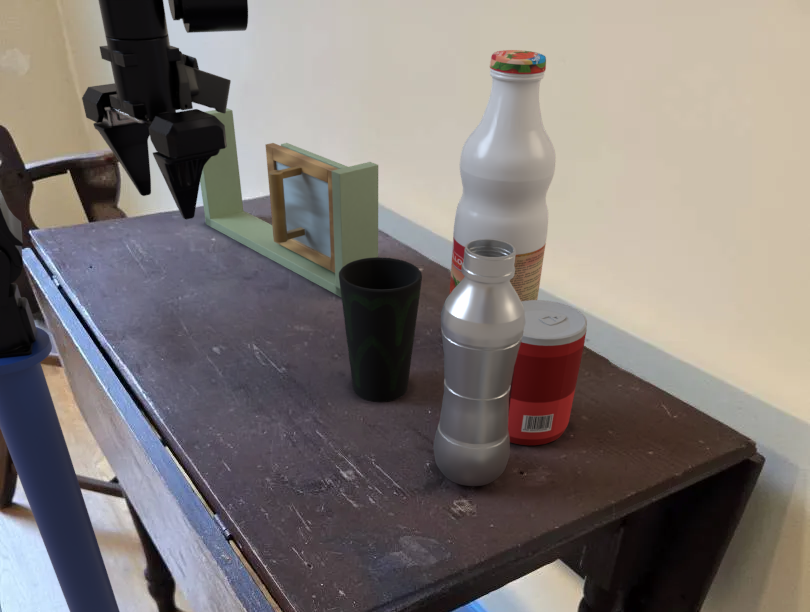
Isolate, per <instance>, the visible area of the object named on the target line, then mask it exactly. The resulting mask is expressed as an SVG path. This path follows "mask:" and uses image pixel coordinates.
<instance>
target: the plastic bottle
mask: <svg viewBox="0 0 810 612" xmlns="http://www.w3.org/2000/svg"><path fill="white" fill-rule="evenodd" d="M515 251H516V249H515V247H514V246H513V245H511V244H509V243H507V242H504V241H501V240H495V239H477V240H473V241H470V242H468V243H467V244H466V246H465V251H464V262H463V263H462V269H461V271H462V274H463V275H464V276H465V277H464V279H463V280H462V281H461V282H460V283H459V284H458V285H457V286H456V287H455V288H454V289H453V291H452V292H451V293H450V292H449V294H450V295H449V294H448V296H447V297H446V299H445V301H444V302H443V306H442V309H441V312H440V329H441V339H442V349H443V376H444V377H443V378H444V379H443V396H442V404H441V409H440V415H439V421H438V424H437V427H436V431H435V434H434V440H433V444H432V445H433V446H432V447H433V454H434V461H435V465H436V466H437V468H438V469H439V471H440V472H441V474H443V476H444V477H445V478H446V479H448V480H449V481H451V482H453V483H456V484H458V485H460V486H461V485H462V486H468V487H481V486H487V485H489V484H492V483H493V482H494V481H495V482H496V480H497V479H499V478H500V477H501V475H502V474H504V472H505V470H506V468H507V464H508V461H509V460H510V456H511V442H510V438H509V431H508V408H509V392H510V387H511V385H510V384H511V381H512V376H513V370H514V365H515V361H516V358H517V354H518V351H519V347H520V344H521V340H522V336H523V333H524V327H525V323H526V319H525V313H524V308H523V305H522V303H521V301H520V299H519V296H518V294H517V293H516V291H515V289H514V288H513V286H512V285H511V283H510V279H512V278H513V277H514V273H515V267H514V263H515V255H516V252H515Z"/></svg>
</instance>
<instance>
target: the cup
mask: <svg viewBox="0 0 810 612" xmlns="http://www.w3.org/2000/svg"><path fill="white" fill-rule="evenodd" d="M422 279H423V273H422V271H421V270H420V269H419V267H417V266H416V265H414V264H413V263H411V262H408V261H406V260H402V259H399V258H393V257H383V256H382V257H381V256H380V257H379V256H378V257H376V258H365V259H360V260H356V261H353V262H350V263H348V264H346V265H345V266H344V267H342V269H341V270H340V272H339V281H340V289H341V297H342V298H341V297H340V298H341V304H342V311H343V320H344V327H345V328H344V329H345V335H346V344H347V352H348V361H349V366H350V368H349V369H350V377H351V383H352V390H353V392H354V394H355V395H356V396H357V397H358V398H360V399H363V400H365V401H369V402H373V403H388V402H392V401H396V400H399V399H400V398H402V397H404V395H406V393H407V392H408V386H409V379H410V372H411V371H410V370H411V364H412V357H413V356H412V355H413V349H414V342H415V334H416V326H417V319H418V310H419V304H420V298H421V297H420V296H421V288H422Z"/></svg>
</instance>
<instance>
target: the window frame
mask: <svg viewBox="0 0 810 612" xmlns="http://www.w3.org/2000/svg"><path fill="white" fill-rule="evenodd" d="M205 112H206V113H208V114H211V115H213V116H215V117H216V118H218V119H219V120H220V121H221V122H222V123H223V124H224V125H225V132H226V141H227V147H226V148H224V149H220V151H219V153H218V155H216V156H212V157H211V158H210V159H209V160H208V161H207V163H206V164H205V165H204V167H203V171H202V175H201V179H200V185H199V186H200V191H201V198H202V205H203V206H202V207H203V214H204V220H205V225H207V226H208V227H210V228H211V229H214V230H216V231H217V232H219V233H221V234H224V235H225V236H227V237H228V238H230V239H233V240H234V241H236V242H237V243H240V244H242V245H243V246H245V247H247V248H249V249H251V250H253V251H255V252H257V253H258V254H260V255H261V256H263V257H266V258H267V259H269V260H271V261H272V262H273V261H274V262H275V263H277V264H278V265H280V266H282V267H284V268H286V269H288V270H290V271H292V272H294V273H295V274H297V275H299V276H301V277H303V278H304V279H306V280H308V281H310V282H312V283H314V284H315V285H318V286H319V287H321V288H323V289H325V290H326V291H329V292H331V293H332V294H334V295H336V296H338V297H339V298H341V299H342V297H341V289H340V281H339V272H340V270H341V269H342V267H344V266H345V265H346V264H348V263H350V262H353V261H356V260H360V259H365V258H376V257H379V164H378V163H375V162H372V161H367V162H363V163H359V164H355V165H351V166H349V165H348V166H347V165H345V164H342V163H340V162H337V161H335V160H332V159H330V158H327V157H324V156H322V155H319V154H316V153H314V152H311V151H309V150H306V149H304V148H301V147H299V146H296V145H293V144H291V143H288V142H284V143H281V144H280V146H282V147H285V148H287V149H290V150H292V151H295V152H297V153H300V154H303V155H305V156H308V157H310V158H313V159H315V160H318V161H320V162H323V163H325V164H328V165H330V166H333V167H335V168H338V169H337V170H333V171H332V197H333V225H334V253H335V273H334V272H332V271H330V270H328V269H326V268H324V267H322V266H321V265H319V264H317V263H315V262H313V261H311V260H309V259H307V258H305V257H303V256H301V255H299V254H297V253H295V252H293V251H291V250H290V249H288V248H286V247H284V246H282V245H280V244H278V243H276V242H274V238H273V226H272V223H269V222H267V221H265V220H263V219H261V218H260V217H257V216H255V215H253V214H251V213H249V212H247V211H245V210H244V203H243V196H242V195H243V193H242V184H241V176H240V167H239V160H238V158H239V157H238V148H237V140H236V139H237V138H236V129H235V120H234V112H233V110H232V109H230V108H226V113H221V112H217V111H216V109H213V110H207V111H205Z"/></svg>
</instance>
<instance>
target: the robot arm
mask: <svg viewBox="0 0 810 612" xmlns="http://www.w3.org/2000/svg"><path fill="white" fill-rule="evenodd" d="M167 2H168V8H169V11H170V16H171V18H172V20H173V21H180V20H181V21H182V23H183V26H184V30H185V32H186V33H187V34H189V33H190V34H193V33H194V34H195V33H219V32H244V31H247V29H248V24H249V1H248V0H167ZM98 5H99V10H100V15H101V21H102V26H103V30H104V35H105V36H104V37H105V42H106V45H100V46H99V51H100V56H101V59H102V60H105V61H107V62H110V67H111V71H112V77H113V82H114V83H108V84H107V83H106V84H100V85H92V86H88V87H87V88H86V90H85V91H84V93H83V95H82V97H81V101H82V104H83V108H84V114H85V117H86V119H87V120H91V121H93V122H94V123H93V127H94V129H95V130H96V131H98V133H99V134H100V136H101V137H102V138H103V140H104V141H105V143H106V144H107V146H108V148H109V149H110V150H111V152H112V153H113V155H114V156H115V158H116V159H117V161H118V163H119V164H120V166H121V167H122V169H123V170H124V171H125V173H126V174H127V176H128V177H129V179H130V181H131V182H132V184H133V185H134V187H135V188H136V191H138V193H139V195H141V196H142V197H147V196H150V195H151V194H152V177H151V166H150V165H151V164H150V154H149V138H150V141H151V144H152V145H153V147H154V149H155V152H152V156H153V158H154V161H155V162H156V165H157V166H158V169H159V171H160V172H161V175H162V177H163V179H164V181H165V183H166V186H167V187H168V190H169V192H170V194H171V196H172V198H173V201H174V203H175V205H176V207H177V209H178V211H179V213H180V215H181V217H182V218H183V219H184V220H191V219H193V218H194V217H195V214H196V209H197V208H196V207H197V201H198V195H199V191H200V190H199V189H200V186H201V185H200V179H201V175H202V171H203V167H204V165H205V164H206V163H207V161H208V160H209V159H210V158H211V157H212V156H216V155H218V153H219V151H220V149H224V148H226V147H227V141H226V132H225V125H224V124H223V123H222V122H221V121H220V120H219V119H218V118H216V117H215V116H213V115H211V114H208V113H206V111H204V110H200V109H198V108H193V107H194V106H193V103H194V104H197V105H200V106H203V107H207V108H209V109H213V110H216V111H217V112H221V113H226V108H227V107H228V101H229V95H230V88H231V82H232V81H231V79H228V78H226V77H222V76H219V75H216V74H214V73H210V72H207V71H205V70H201V69H200V68H199V64H198V59H197V58H196V57H195V56H192V55H191V56H190V55H188V54H184V53H183V52H182V51H181V50H180V48H179V47H176V46H173V45H171V42H170V35H169V31H168V24H167V23H168V22H167V17H166V11H165V3H164V0H98ZM179 110H180V111H179ZM23 245H24V242H23V229H22V221H21V220H20V219H19V218H17V217H16V216H15V215H14V214H13V213H12V211H11V210H10V209H9V206H8V204H7V202H6V200H5V197H4V195H3V193H2V190H1V189H0V358H9V357H18V356H27V355H30V354H32V349H33V343H34V342H35V341H36V336H37V329H36V327H37V325H36V323H35V319H34V316H33V312H32V310H31V307H30V306H31V305H30V304H29V300H28V298H26V297H25V296H24V297H22V296H21V293H20V288H19V285H18V284H17V283H16V281H17V280H18V278H19V277H21V274H22V270H23V267H24V259H23Z"/></svg>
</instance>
